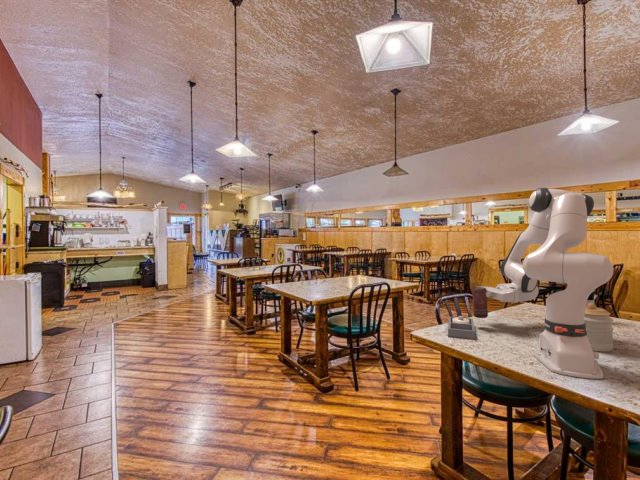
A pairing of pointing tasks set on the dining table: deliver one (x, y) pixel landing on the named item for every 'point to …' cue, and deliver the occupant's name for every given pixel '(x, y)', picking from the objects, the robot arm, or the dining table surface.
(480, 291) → the can
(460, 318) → the cream knobbed oval piece
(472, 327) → the tray
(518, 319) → the dining table surface
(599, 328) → the jar
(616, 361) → the dining table surface
